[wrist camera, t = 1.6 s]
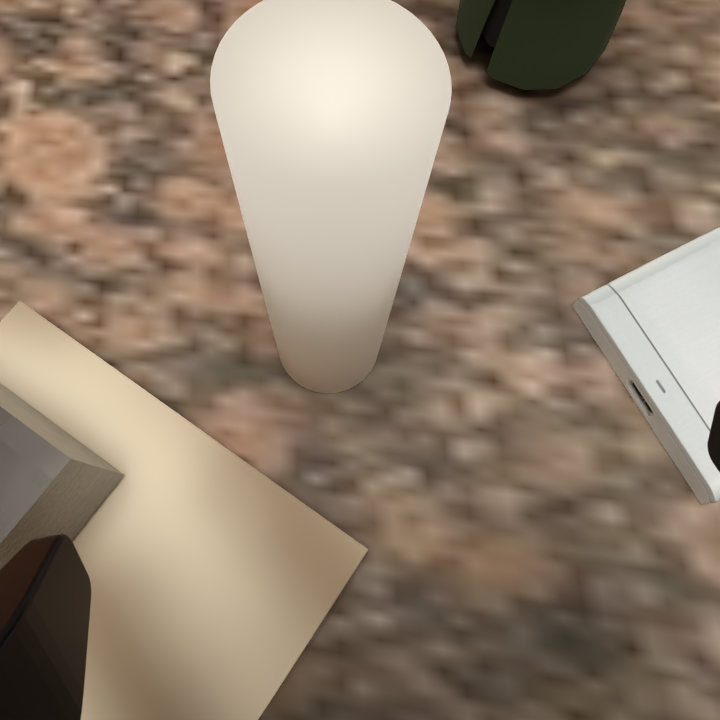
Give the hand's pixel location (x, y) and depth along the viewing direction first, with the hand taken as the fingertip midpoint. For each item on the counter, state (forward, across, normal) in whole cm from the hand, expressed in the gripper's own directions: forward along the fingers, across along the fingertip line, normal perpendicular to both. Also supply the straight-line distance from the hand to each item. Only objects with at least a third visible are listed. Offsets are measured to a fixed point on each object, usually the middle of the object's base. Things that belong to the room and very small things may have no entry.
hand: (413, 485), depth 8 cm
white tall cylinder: (+13, 0, +4) cm, 14 cm away
